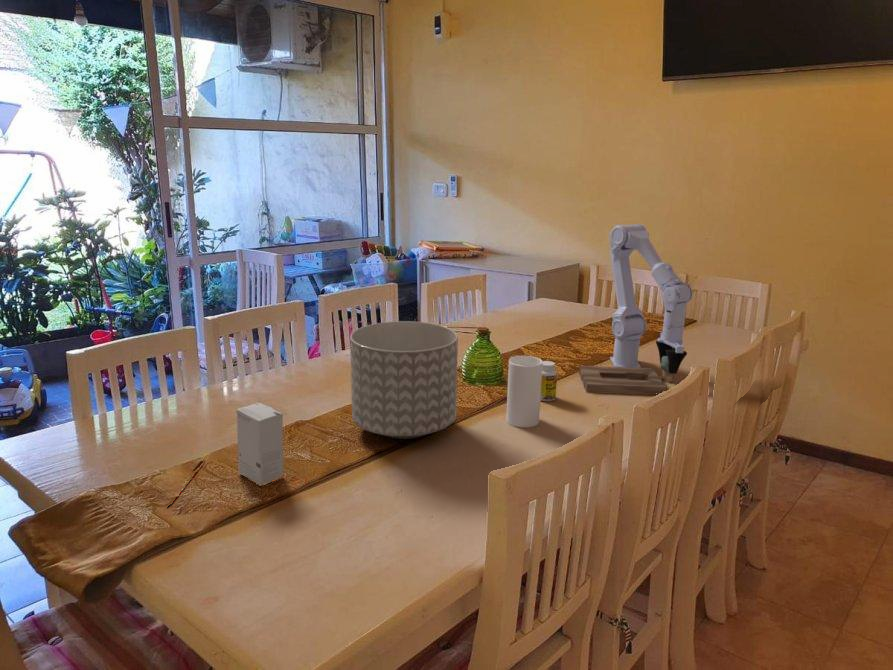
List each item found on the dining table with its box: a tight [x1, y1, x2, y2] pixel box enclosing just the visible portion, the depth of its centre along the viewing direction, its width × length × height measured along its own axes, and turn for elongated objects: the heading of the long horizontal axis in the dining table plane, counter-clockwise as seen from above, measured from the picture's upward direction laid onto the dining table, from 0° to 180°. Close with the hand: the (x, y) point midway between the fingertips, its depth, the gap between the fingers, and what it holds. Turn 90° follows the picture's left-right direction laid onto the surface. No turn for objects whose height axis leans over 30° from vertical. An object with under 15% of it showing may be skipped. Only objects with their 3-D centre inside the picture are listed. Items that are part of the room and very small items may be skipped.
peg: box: [660, 356, 674, 383], centre depth 196 cm, size 4×4×7 cm
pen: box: [192, 459, 205, 473], centre depth 134 cm, size 1×19×1 cm, turn 179°
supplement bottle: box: [540, 360, 558, 402], centre depth 180 cm, size 6×6×10 cm
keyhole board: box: [578, 365, 667, 396], centre depth 193 cm, size 16×22×2 cm
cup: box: [505, 355, 543, 429], centre depth 164 cm, size 8×8×16 cm
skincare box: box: [236, 402, 284, 485], centre depth 135 cm, size 8×6×15 cm
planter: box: [349, 320, 459, 440], centre depth 157 cm, size 25×25×24 cm
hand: (668, 368), depth 196 cm, fingers open, 7 cm apart
